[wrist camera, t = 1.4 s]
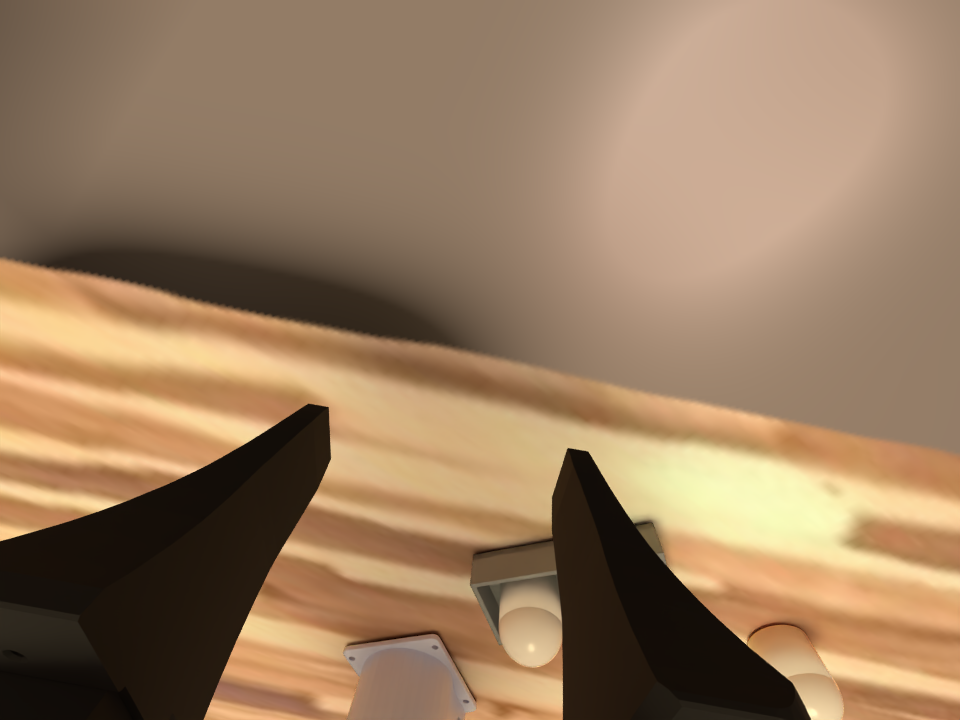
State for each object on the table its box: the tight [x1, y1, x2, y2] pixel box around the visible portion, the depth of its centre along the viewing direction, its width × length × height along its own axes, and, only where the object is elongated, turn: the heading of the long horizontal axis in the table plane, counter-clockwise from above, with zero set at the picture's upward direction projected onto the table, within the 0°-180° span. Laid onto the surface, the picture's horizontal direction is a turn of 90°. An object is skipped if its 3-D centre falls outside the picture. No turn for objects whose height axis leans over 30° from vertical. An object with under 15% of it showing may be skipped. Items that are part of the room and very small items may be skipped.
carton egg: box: [499, 574, 562, 667], centre depth 26 cm, size 4×4×5 cm
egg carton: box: [470, 523, 667, 645], centre depth 27 cm, size 6×12×2 cm, turn 109°
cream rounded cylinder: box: [748, 625, 844, 720], centre depth 27 cm, size 4×4×5 cm
